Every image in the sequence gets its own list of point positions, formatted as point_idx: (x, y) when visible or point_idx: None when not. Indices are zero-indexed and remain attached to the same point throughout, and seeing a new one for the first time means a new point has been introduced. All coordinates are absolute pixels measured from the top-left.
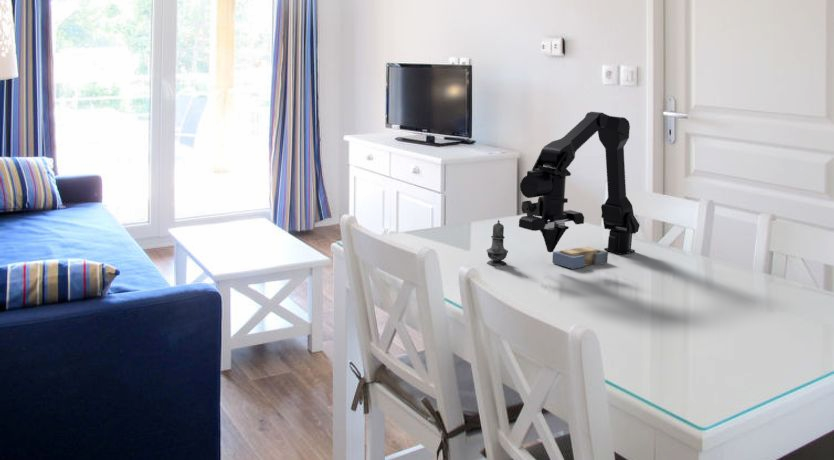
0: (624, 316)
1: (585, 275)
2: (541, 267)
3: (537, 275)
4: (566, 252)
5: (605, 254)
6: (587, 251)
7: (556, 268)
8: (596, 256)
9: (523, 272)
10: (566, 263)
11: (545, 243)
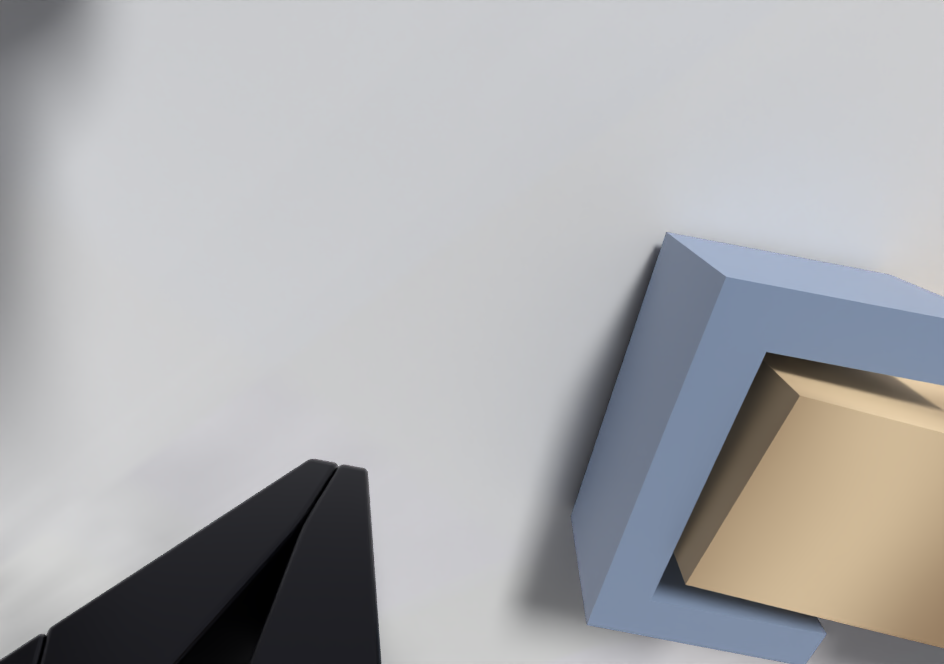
0: None
1: (487, 643)
2: (390, 249)
3: (120, 400)
4: (725, 520)
5: None
6: None
7: (492, 386)
8: None
9: (49, 238)
10: (600, 473)
11: (162, 560)
